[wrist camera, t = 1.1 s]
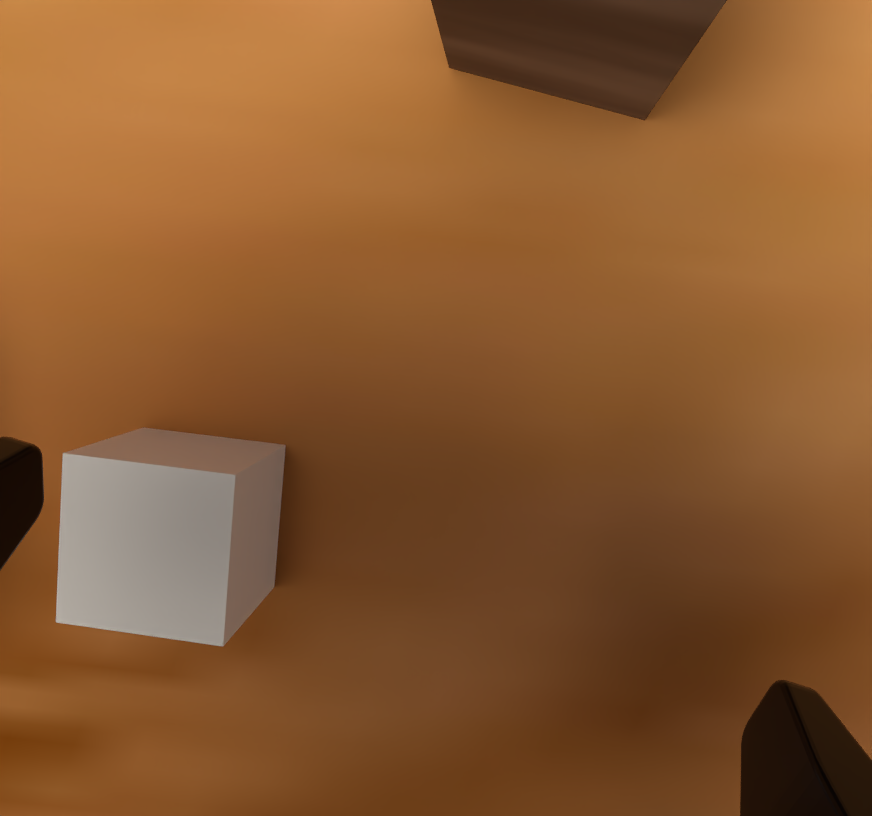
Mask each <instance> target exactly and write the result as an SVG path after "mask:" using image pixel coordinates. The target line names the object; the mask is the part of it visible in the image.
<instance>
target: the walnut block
mask: <svg viewBox="0 0 872 816" xmlns="http://www.w3.org/2000/svg"><path fill="white" fill-rule="evenodd" d="M726 1H727V0H431V2H432V5H433V9H434V13H435V17H436V20H437V24H438V28H439V31H440V35H441V39H442V43H443V46H444V50H445V54H446V57H447V61H448V65H449V68H452V69H456V70H460V71H464V72H467V73H471V74H475V75H478V76H482V77H486V78H490V79H493V80H497V81H501V82H505V83H508V84H512V85H516V86H519V87H523V88H527V89H531V90H534V91H538V92H542V93H546V94H549V95H553V96H557V97H560V98H564V99H568V100H572V101H575V102H579V103H583V104H587V105H590V106H594V107H598V108H601V109H605V110H609V111H613V112H616V113H620V114H624V115H628V116H631V117H635V118H639V119H642V120H645V119H646V118H647V116H648V115H649V113H650V112H651V110H652V109H653V107H654V106H655V104H656V103H657V101H658V100H659V99H660V97H661V96H662V94H663V93H664V91H665V90H666V88H667V87H668V85H669V84H670V82H671V81H672V80H673V78H674V77H675V75H676V74H677V72H678V71H679V69H680V68H681V66H682V65H683V63H684V62H685V61H686V59H687V58H688V56H689V55H690V53H691V52H692V50H693V49H694V47H695V46H696V44H697V43H698V42H699V40H700V39H701V37H702V36H703V34H704V33H705V31H706V30H707V28H708V27H709V26H710V24H711V23H712V21H713V20H714V18H715V17H716V15H717V14H718V12H719V11H720V9H721V8H722V7H723V5H724V4H725V2H726Z"/></svg>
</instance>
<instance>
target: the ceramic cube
mask: <svg viewBox="0 0 872 816" xmlns="http://www.w3.org/2000/svg"><path fill="white" fill-rule="evenodd" d="M285 448H286V445H283V444H275V443H267V442H258V441H250V440H242V439H234V438H226V437H217V436H209V435H201V434H193V433H185V432H176V431H168V430H160V429H152V428H144V427H143V428H140V429H137V430H134V431H131V432H127V433H124V434H121V435H118V436H115V437H112V438H109V439H106V440H102V441H99V442H96V443H93V444H90V445H87V446H84V447H81V448H77V449H74V450H71V451H68V452H65V453H63V463H62V487H61V510H60V534H59V558H58V582H57V606H56V622H57V623H64V624H71V625H78V626H85V627H92V628H98V629H105V630H112V631H119V632H126V633H133V634H140V635H147V636H154V637H161V638H168V639H175V640H182V641H189V642H196V643H202V644H209V645H216V646H224V645H225V644H226V643H227V641H228V640H229V639H230V638H231V637H232V636H233V635H234V633H235V632H236V631H237V630H238V629H239V628H240V626H241V625H242V624H243V623H244V622H245V621H246V619H247V618H248V617H249V616H250V615H251V614H252V612H253V611H254V610H255V609H256V608H257V607H258V605H259V604H260V603H261V602H262V601H263V600H264V599H265V597H266V596H267V595H268V594H269V593H270V592H271V590H272V589H273V588H274V585H275V573H276V560H277V548H278V535H279V523H280V511H281V498H282V486H283V473H284V461H285Z"/></svg>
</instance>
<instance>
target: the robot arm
mask: <svg viewBox="0 0 872 816" xmlns="http://www.w3.org/2000/svg"><path fill="white" fill-rule="evenodd" d="M43 502H44V488H43V461H42V453H41V451H40V449H39V448H38V447H37V446H35V445H34V444H31V443H27V442H24V441H21V440H18V439H15V438H11V437H1V438H0V570H1V569H2V567H3V566H4V565H5V563H6V562H7V560H8V559H9V558H10V556H11V555H12V553H13V552H14V551H15V549H16V548H17V546H18V545H19V544H20V542H21V541H22V539H23V538H24V537H25V535H26V534H27V532H28V531H29V530H30V528H31V527H32V525H33V524H34V523H35V521H36V520H37V518H38V516H39V514H40V512H41V509H42V507H43ZM740 816H872V760H871V759H870V757H869V756H868V755H867V754H866V752H865V751H864V750H863V749H862V747H861V746H860V745H859V744H858V742H857V741H856V740H855V739H854V737H853V736H852V735H851V734H850V732H849V731H848V730H847V729H846V727H845V726H844V725H843V723H842V722H841V721H840V720H839V718H838V717H837V716H836V715H835V713H834V712H833V711H832V710H831V708H830V707H829V706H828V705H827V703H826V702H825V701H824V700H823V698H822V697H821V696H820V695H819V694H818V693H817V692H816V691H815V690H813V689H811V688H808V687H805V686H802V685H799V684H795V683H792V682H789V681H786V680H778V681H776V682H775V683H773V684H772V686H771V687H770V688H769V690H768V691H767V693H766V694H765V696H764V697H763V699H762V701H761V702H760V704H759V705H758V707H757V708H756V710H755V711H754V713H753V714H752V716H751V717H750V719H749V721H748V722H747V724H746V726H745V729H744V732H743V736H742V743H741V800H740Z"/></svg>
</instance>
